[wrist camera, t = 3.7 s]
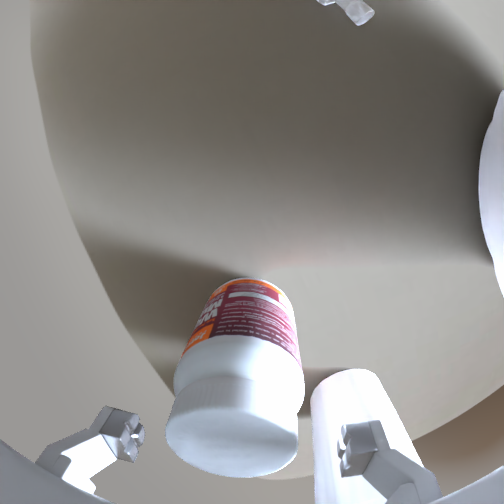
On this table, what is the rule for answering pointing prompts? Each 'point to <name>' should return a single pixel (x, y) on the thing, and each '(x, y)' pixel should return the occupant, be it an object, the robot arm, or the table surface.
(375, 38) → the table surface
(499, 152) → the bowl
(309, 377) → the table surface
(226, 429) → the pill bottle
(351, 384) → the cup
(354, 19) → the hammer
